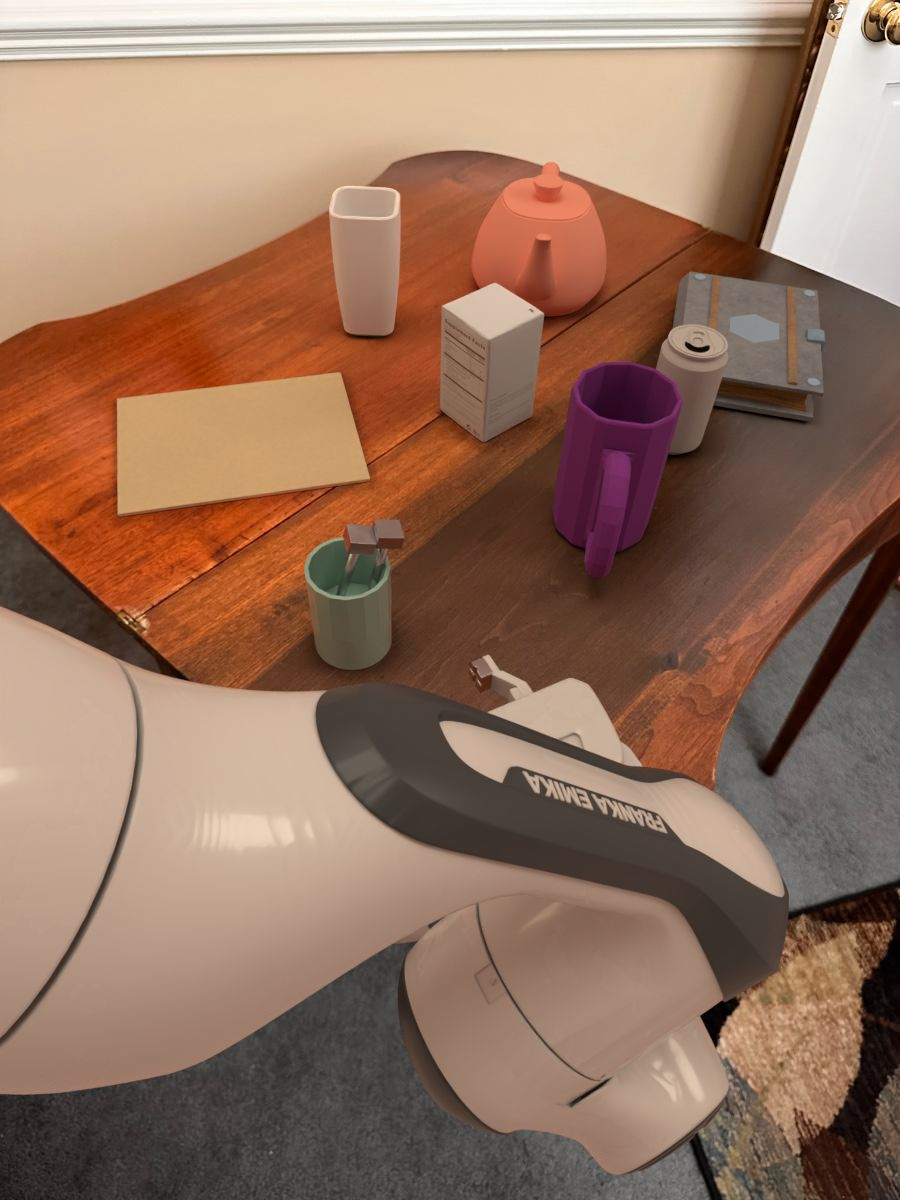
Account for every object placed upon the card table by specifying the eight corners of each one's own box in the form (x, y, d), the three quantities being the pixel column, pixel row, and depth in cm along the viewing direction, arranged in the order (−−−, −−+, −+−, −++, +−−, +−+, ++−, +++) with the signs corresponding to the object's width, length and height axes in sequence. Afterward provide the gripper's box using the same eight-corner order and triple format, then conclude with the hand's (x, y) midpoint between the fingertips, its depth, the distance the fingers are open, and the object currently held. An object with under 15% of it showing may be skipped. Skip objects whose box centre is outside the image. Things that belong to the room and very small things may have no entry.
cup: (398, 344, 101) (397, 219, 90) (336, 341, 101) (326, 216, 90) (402, 310, 106) (401, 187, 95) (342, 307, 106) (334, 184, 94)
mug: (647, 495, 86) (683, 366, 74) (643, 615, 76) (684, 487, 64) (555, 483, 87) (576, 353, 75) (539, 600, 77) (561, 471, 65)
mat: (118, 517, 82) (117, 514, 81) (117, 401, 93) (116, 398, 92) (370, 481, 86) (370, 478, 86) (340, 374, 97) (340, 371, 97)
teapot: (600, 352, 101) (621, 242, 91) (458, 338, 102) (463, 227, 92) (603, 247, 117) (621, 143, 107) (480, 235, 118) (486, 131, 108)
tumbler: (320, 676, 71) (310, 605, 64) (309, 616, 75) (299, 543, 68) (399, 662, 72) (397, 591, 65) (384, 603, 76) (380, 530, 69)
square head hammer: (324, 622, 69) (351, 542, 63) (320, 603, 70) (346, 523, 64) (348, 622, 70) (377, 544, 64) (344, 604, 71) (372, 525, 65)
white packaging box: (488, 384, 97) (496, 279, 87) (533, 418, 93) (547, 312, 83) (436, 409, 94) (439, 303, 84) (481, 445, 90) (489, 338, 80)
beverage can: (636, 452, 90) (661, 352, 81) (642, 415, 94) (667, 316, 85) (698, 463, 89) (731, 364, 80) (701, 425, 93) (733, 326, 84)
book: (674, 301, 109) (684, 263, 105) (809, 321, 107) (823, 284, 103) (660, 399, 96) (670, 361, 92) (813, 425, 94) (830, 387, 90)
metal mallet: (357, 617, 70) (379, 537, 63) (352, 598, 71) (373, 518, 65) (381, 616, 70) (405, 537, 64) (376, 598, 71) (399, 519, 65)
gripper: (670, 766, 52) (552, 607, 60) (357, 915, 46) (270, 716, 54) (649, 814, 57) (542, 661, 65) (363, 955, 51) (282, 767, 59)
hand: (416, 687), depth 59 cm, fingers open, 8 cm apart
